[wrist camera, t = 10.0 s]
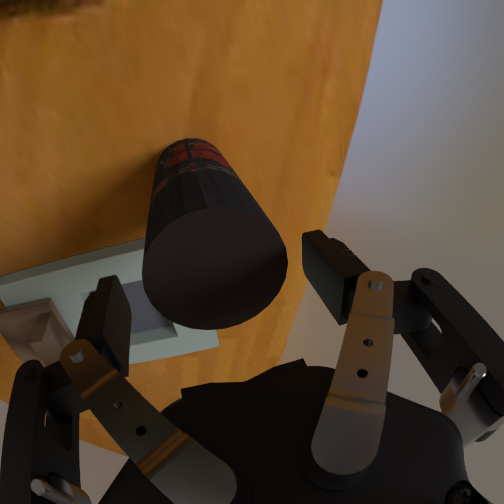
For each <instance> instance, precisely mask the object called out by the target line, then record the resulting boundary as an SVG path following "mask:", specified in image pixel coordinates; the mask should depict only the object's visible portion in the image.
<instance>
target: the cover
mask: <svg viewBox="0 0 504 504" xmlns="http://www.w3.org/2000/svg"><path fill="white" fill-rule="evenodd" d="M0 332H1V334H2V335H3V337H4V338H5V339H6V341H7V342H8V343H9V345H10V346H11V347H12V349H13V350H14V351H15V353H16V354H17V355H18V356H19V358H20V359H21V360H22V361H23V363H25V362H26V361H29V360H33V359H35V360H38V361H40V362H41V364H42V365H43V366H44V367H46V366H48V365H50V364H52V363H55V362H57V361H59V360H60V354H61V352H62V350H63V349H64V347H65V346H66V345H68V344H69V343H70V342H72V341H74V340H75V337H74V336H73V334H72V333H71V331H70V329H69V328H68V326H67V325H66V323H65V321H64V320H63V318H62V316H61V315H60V313H59V311H58V310H57V308H56V306H55V305H54V303H53V301H52V299H51V298H49V299H45V300H40V301H36V302H31V303H27V304H23V305H18V306H14V307H9V308H5V309H0Z"/></svg>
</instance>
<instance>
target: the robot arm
mask: <svg viewBox="0 0 504 504" xmlns="http://www.w3.org/2000/svg"><path fill="white" fill-rule="evenodd" d="M302 265H303V270H304V273H305V276H306V277H307V279H308V280H309V282H310V283H311V285H312V286H313V288H314V289H315V290H316V292H317V293H318V295H319V296H320V298H321V299H322V301H323V302H324V304H325V305H326V306H327V308H328V310H329V311H330V313H331V314H332V316H333V317H334V318H335V320H336V321H337V323H338V324H339V325H343V324H346V323H347V327H346V331H345V335H344V339H343V343H342V347H341V351H340V354H339V358H338V362H337V365H336V369H333V368H329V367H323V366H307V365H306V363H305V361H304V359H303V358H302V359H299V360H296V361H293V362H289V363H286V364H282V365H279V366H275V367H273V368H271V369H269V370H267V371H265V372H263V373H261V374H259V375H257V376H255V377H253V378H251V379H249V380H247V381H245V382H226V383H207V384H203V385H198V386H193V387H188V388H183V389H181V394H182V398H181V399H178V400H177V401H175V402H173V403H171V404H170V405H169V406H167V407H166V408H165V409H164V410H162V411H161V412H159V411H158V410H157V409H156V408H155V407H154V406H152V405H151V404H150V403H149V402H148V401H147V400H146V399H145V398H144V397H143V396H142V395H141V394H140V393H139V392H138V391H137V390H136V389H135V388H134V387H133V386H132V385H131V384H130V383H129V382H128V381H127V380H126V379H125V378H124V377H128V376H129V351H130V335H131V321H132V313H131V308H130V304H129V302H128V299H127V297H126V295H125V292H124V290H123V288H122V285H121V283H120V280H119V278H118V276H117V275H111V276H107V277H103V278H100V279H99V281H98V284H97V288H96V291H94V292H91V293H90V294H89V296H88V297H87V298H86V300H85V302H84V305H83V309H82V310H83V311H82V313H81V318H80V320H79V324H78V328H77V332H76V336H75V340H74V341H72V342H70V343H69V344H68V345H66V346H65V347H64V349H63V350H62V352H61V354H60V360H59V361H57V362H55V363H52V364H50V365H48V366H46V367H44V366H43V365H42V364H41V362H40V361H38V360H35V359H33V360H29V361H26V362H25V363H23V364H22V365H21V366H20V367H19V369H18V370H17V372H16V375H15V379H14V384H13V388H12V392H11V397H10V402H9V408H8V413H7V418H6V425H5V432H4V439H3V447H2V457H1V470H0V504H92V503H91V500H90V498H89V496H88V495H87V494H86V492H84V491H83V490H82V489H81V485H80V468H79V467H80V466H79V413H81V412H84V411H86V410H88V409H90V410H91V412H92V413H93V414H94V416H95V417H96V418H97V419H98V421H99V422H100V423H101V425H102V426H103V427H104V428H105V430H106V431H107V432H108V433H109V435H110V436H111V437H112V438H113V439H114V441H115V442H116V443H117V444H118V445H119V446H120V448H121V449H122V450H123V451H124V452H125V453H126V454H127V456H128V457H129V459H128V460H127V462H126V463H125V465H124V466H123V468H122V469H121V471H120V472H119V473H118V475H117V476H116V478H115V479H114V481H113V482H112V484H111V485H110V487H109V488H108V490H107V491H106V493H105V494H104V496H103V497H102V499H101V500H100V502H99V503H98V504H492V503H491V502H490V501H488V500H487V499H486V498H484V497H483V496H482V495H481V494H480V493H478V491H476V489H475V488H474V487H473V486H472V485H471V483H470V482H469V479H468V476H467V473H466V469H465V464H464V452H463V449H464V448H465V447H467V446H468V445H470V444H471V443H473V442H474V441H476V442H480V441H484V440H486V439H487V438H488V437H489V436H490V435H492V434H493V433H494V432H495V431H496V430H497V429H498V428H499V427H500V426H501V425H502V424H503V423H504V342H503V340H502V339H501V338H500V337H499V336H498V334H497V333H496V332H495V331H494V330H493V329H492V328H491V327H490V325H489V324H488V323H487V322H486V321H485V320H484V319H483V318H482V316H480V314H479V313H478V312H477V311H476V310H475V309H474V308H473V307H472V306H471V305H470V304H469V303H468V302H467V300H465V298H464V297H463V296H462V295H461V294H460V293H459V292H458V291H457V290H456V289H455V288H454V287H453V286H452V285H451V284H450V283H449V282H448V281H447V280H446V279H445V278H444V277H443V276H442V275H441V274H439V273H438V272H437V271H434V270H432V269H428V268H419V269H417V270H415V271H414V272H413V273H412V277H411V280H407V281H393V280H392V278H391V277H390V276H389V275H387V274H385V273H383V272H380V271H370V269H368V267H367V266H366V265H365V264H364V263H363V262H362V261H361V260H360V259H359V258H358V257H357V256H356V255H354V253H353V252H352V251H351V250H349V248H348V247H347V246H346V245H345V244H344V243H343V242H341V241H339V240H337V239H334V238H330V239H329V238H328V237H327V236H326V235H325V234H324V233H323V232H322V231H321V230H314V231H310V232H305V233H303V234H302ZM432 318H433V319H434V320H435V321H436V322H437V323H438V325H439V326H440V328H441V331H442V334H441V332H440V331H439V330H438V329H437V327H436V326H435V325H434V324H433V323H432V321H431V320H432ZM394 334H401V336H402V337H403V339H404V340H405V341H406V343H407V344H408V346H409V347H410V349H411V350H412V351H413V353H414V354H415V356H416V357H417V359H418V360H419V362H420V363H421V364H422V366H423V367H424V369H425V371H426V372H427V373H428V375H429V376H430V378H431V380H432V381H433V383H434V384H435V386H436V387H437V389H438V390H439V392H440V393H441V396H440V400H439V402H440V407H441V410H442V411H441V412H439V411H436V410H433V409H431V408H428V407H425V406H423V405H420V404H418V403H415V402H413V401H410V400H408V399H405V398H403V397H400V396H398V395H395V394H393V393H390V392H388V391H387V388H388V381H389V373H390V365H391V357H392V347H393V336H394ZM45 413H46V424H45V426H44V421H45Z"/></svg>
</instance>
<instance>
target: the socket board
mask: <svg viewBox="0 0 504 504" xmlns="http://www.w3.org/2000/svg"><path fill="white" fill-rule="evenodd" d="M144 245H145V238H143V239H139V240H135V241H131V242H127V243H123V244H119V245H115V246H111V247H107V248H103V249H99V250H95V251H91V252H87V253H83V254H80V255H76V256H72V257H68V258H64V259H61V260H57V261H53V262H50V263H46V264H43V265H39V266H35V267H32V268H28V269H25V270H21V271H18V272H15V273H11V274H8V275H4V276H1V277H0V299H1V301H2V302H3V304H4V306H5V307H6V308H9V307H14V306H18V305H23V304H27V303H31V302H36V301H40V300H45V299H49V298H51V299H52V301H53V303H54V305H55V306H56V308H57V310H58V311H59V313H60V315H61V316H62V318H63V320H64V321H65V323H66V325H67V326H68V328H69V329H70V331H71V333H72V334H73V336H74V337H75V336H76V332H77V328H78V324H79V320H80V318H81V313H82V311H83V310H82V309H83V305H84V302H85V300H86V298H87V297H88V296H89V294H90V293H91V292H94V291H96V288H97V284H98V281H99V279H100V278H103V277H107V276H111V275H117V276H118V278H119V280H120V283H121V285H122V288H123V290H124V292H125V295H126V297H127V299H128V302H129V304H130V308H131V313H132V321H131V335H130V351H129V364H133V363H139V362H145V361H151V360H156V359H161V358H167V357H172V356H177V355H182V354H186V353H191V352H196V351H200V350H205V349H209V348H214V347H218V346H220V344H219V340H218V336H217V332H216V330H199V329H191V328H187V327H184V326H181V325H178V324H175V323H174V322H172V321H170V320H169V319H167V318H165V317H164V316H162V315H161V314H160V313H159V312H158V311H157V310H156V309H155V308H154V307H153V306H152V304H151V303H150V301H149V299H148V297H147V295H146V293H145V291H144V287H143V280H142V264H143V254H144Z"/></svg>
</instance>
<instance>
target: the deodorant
mask: <svg viewBox="0 0 504 504" xmlns="http://www.w3.org/2000/svg"><path fill="white" fill-rule="evenodd" d="M287 266H288V259H287V252H286V247H285V245H284V243H283V241H282V239H281V237H280V235H279V233H278V231H277V230H276V228H275V227H274V226H273V224H272V223H271V221H270V220H269V219H268V217H267V216H266V214H265V213H264V212H263V210H262V209H261V207H260V206H259V205H258V203H257V202H256V200H255V199H254V198H253V196H252V195H251V193H250V192H249V191H248V189H247V188H246V187H245V185H244V184H243V182H242V181H241V180H240V178H239V177H238V176H237V174H236V173H235V172H234V170H233V169H232V167H231V166H230V165H229V163H228V162H227V161H226V159H225V158H224V157H223V155H222V154H221V153H220V151H219V150H218V149H217V148H216V147H215V146H214V145H212V144H211V143H209V142H207V141H205V140H201V139H197V138H190V139H183V140H180V141H177V142H175V143H174V144H172V145H170V146H169V147H168V148H167V149H166V150H165V151H164V152H163V153H162V155H161V156H160V158H159V160H158V163H157V167H156V171H155V177H154V183H153V189H152V195H151V201H150V208H149V215H148V222H147V229H146V237H145V245H144V254H143V264H142V280H143V287H144V291H145V293H146V295H147V297H148V299H149V301H150V303H151V304H152V306H153V307H154V308H155V309H156V310H157V311H158V312H159V313H160V314H161V315H162V316H164V317H165V318H167V319H169V320H170V321H172V322H174V323H175V324H178V325H181V326H184V327H187V328H191V329H199V330H216V329H225V328H228V327H232V326H235V325H238V324H241V323H243V322H245V321H247V320H249V319H251V318H253V317H255V316H256V315H258V314H259V313H260V312H261V311H262V310H264V309H265V308H266V307H267V306H269V304H270V303H271V302H272V301H273V299H274V298H275V297H276V296H277V294H278V293H279V291H280V289H281V287H282V285H283V283H284V281H285V278H286V272H287Z"/></svg>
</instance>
